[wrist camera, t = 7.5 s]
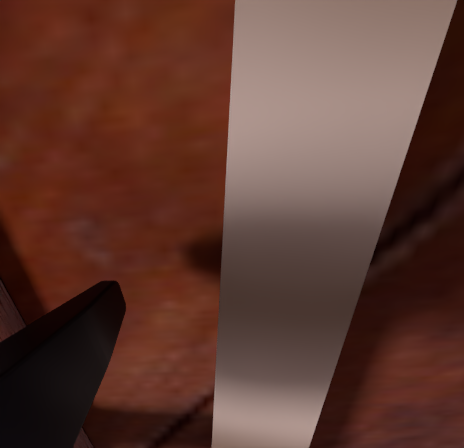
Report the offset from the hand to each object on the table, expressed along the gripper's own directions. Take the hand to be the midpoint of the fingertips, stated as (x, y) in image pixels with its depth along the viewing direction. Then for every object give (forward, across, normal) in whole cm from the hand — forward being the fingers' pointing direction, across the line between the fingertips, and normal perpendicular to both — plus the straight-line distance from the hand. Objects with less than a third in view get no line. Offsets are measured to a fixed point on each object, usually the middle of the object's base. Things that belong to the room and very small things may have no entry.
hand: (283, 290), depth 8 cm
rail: (+2, 0, 0) cm, 2 cm away
